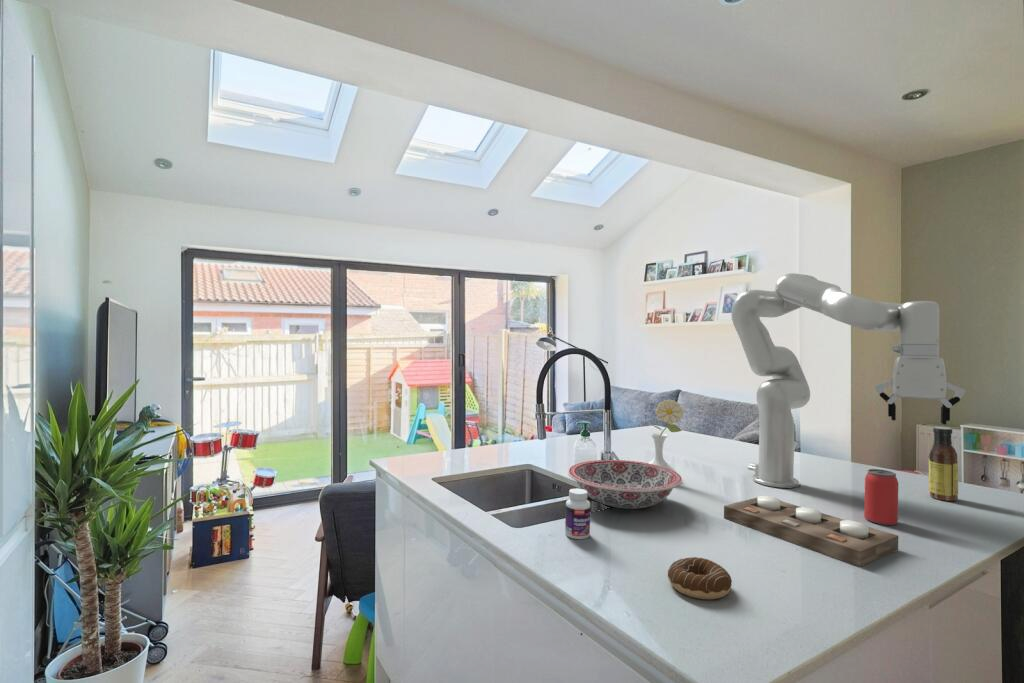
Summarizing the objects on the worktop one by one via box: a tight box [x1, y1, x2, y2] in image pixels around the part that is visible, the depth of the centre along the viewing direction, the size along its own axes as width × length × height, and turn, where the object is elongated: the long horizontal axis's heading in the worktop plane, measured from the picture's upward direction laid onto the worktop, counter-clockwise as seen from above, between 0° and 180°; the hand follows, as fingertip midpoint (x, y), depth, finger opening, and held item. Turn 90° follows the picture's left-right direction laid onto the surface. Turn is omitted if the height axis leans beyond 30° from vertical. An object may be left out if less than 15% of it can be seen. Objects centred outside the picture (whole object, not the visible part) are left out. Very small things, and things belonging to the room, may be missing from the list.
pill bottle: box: [564, 488, 591, 540], centre depth 111 cm, size 5×5×10 cm
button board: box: [723, 496, 899, 568], centre depth 115 cm, size 30×16×3 cm, turn 31°
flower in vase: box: [648, 398, 685, 473], centre depth 156 cm, size 13×11×25 cm
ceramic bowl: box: [567, 459, 683, 510], centre depth 133 cm, size 29×29×8 cm
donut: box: [667, 556, 732, 601], centre depth 89 cm, size 11×11×4 cm
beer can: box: [863, 468, 899, 526], centre depth 123 cm, size 7×7×12 cm
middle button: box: [796, 506, 822, 524], centre depth 115 cm, size 5×5×2 cm
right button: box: [840, 519, 870, 539], centre depth 107 cm, size 5×5×2 cm
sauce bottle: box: [928, 426, 959, 502], centre depth 141 cm, size 7×6×20 cm
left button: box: [756, 495, 781, 511], centre depth 124 cm, size 5×5×2 cm
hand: (917, 421), depth 124 cm, fingers open, 9 cm apart
